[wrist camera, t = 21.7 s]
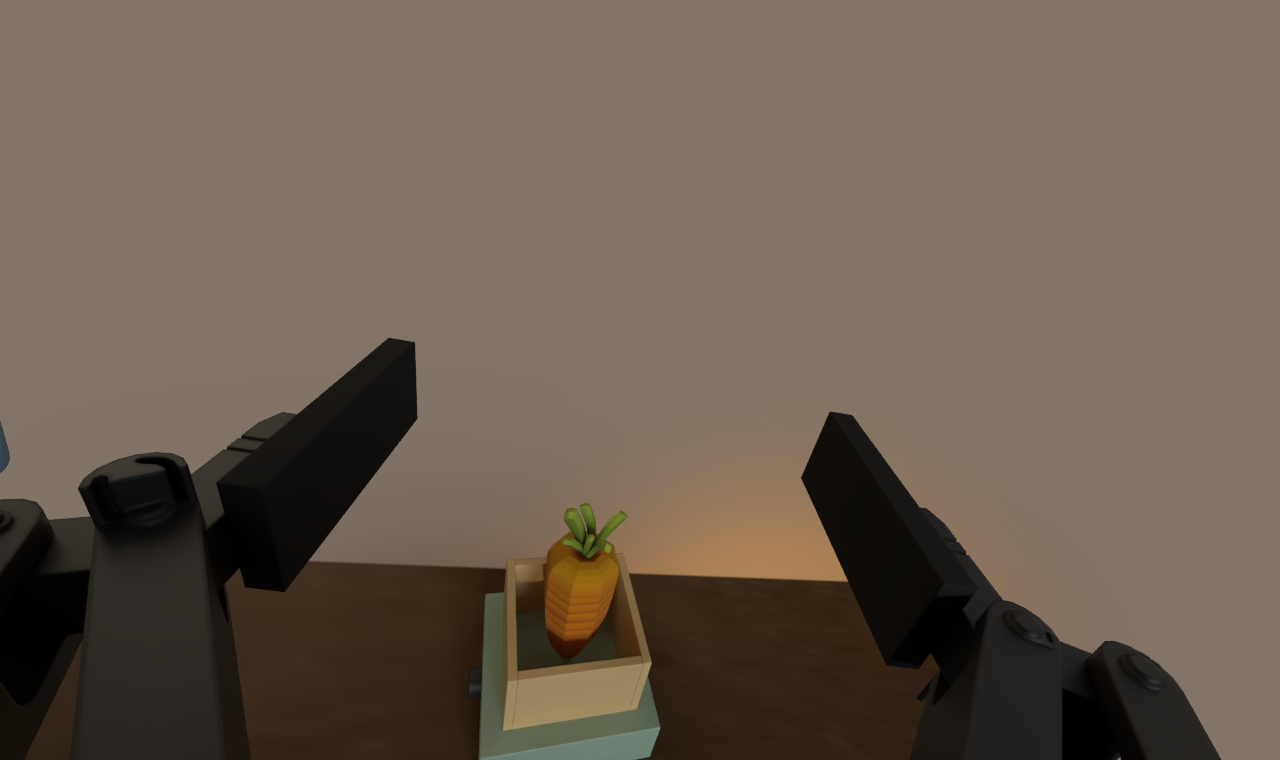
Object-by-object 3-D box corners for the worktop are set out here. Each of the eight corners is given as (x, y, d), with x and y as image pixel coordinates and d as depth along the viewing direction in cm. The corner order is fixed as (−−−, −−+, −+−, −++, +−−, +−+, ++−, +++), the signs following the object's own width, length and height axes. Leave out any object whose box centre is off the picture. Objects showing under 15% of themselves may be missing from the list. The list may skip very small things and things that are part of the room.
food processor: (462, 793, 32) (465, 712, 27) (472, 625, 42) (475, 546, 37) (649, 757, 35) (678, 681, 31) (617, 611, 45) (635, 538, 41)
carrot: (605, 635, 39) (639, 493, 32) (587, 698, 34) (623, 548, 28) (546, 617, 39) (567, 473, 32) (521, 677, 35) (540, 524, 28)
